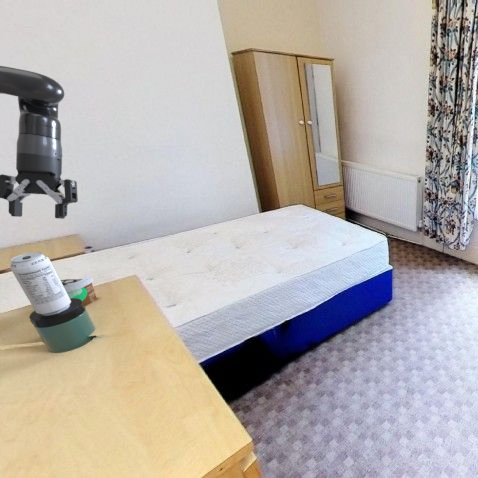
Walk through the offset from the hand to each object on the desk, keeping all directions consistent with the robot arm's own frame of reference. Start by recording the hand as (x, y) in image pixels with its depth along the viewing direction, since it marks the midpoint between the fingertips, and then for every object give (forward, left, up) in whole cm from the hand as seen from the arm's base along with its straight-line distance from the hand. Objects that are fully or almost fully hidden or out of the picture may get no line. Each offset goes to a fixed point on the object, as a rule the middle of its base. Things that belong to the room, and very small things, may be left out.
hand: (38, 217), depth 83 cm
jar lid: (+5, -13, -20) cm, 25 cm away
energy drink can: (+5, -14, -20) cm, 25 cm away
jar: (+5, -13, -30) cm, 33 cm away
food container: (-4, +1, -30) cm, 30 cm away
